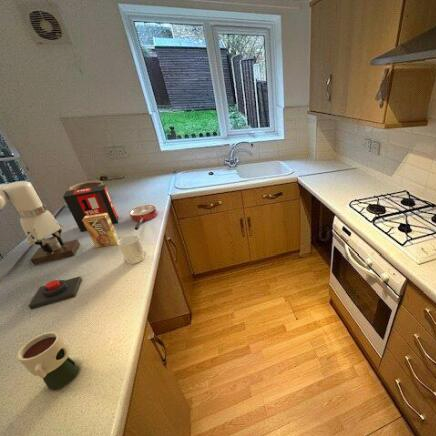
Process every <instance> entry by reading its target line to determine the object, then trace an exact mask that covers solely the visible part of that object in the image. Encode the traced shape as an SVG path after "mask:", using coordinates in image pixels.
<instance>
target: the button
mask: <svg viewBox="0 0 436 436" xmlns="http://www.w3.org/2000/svg"><path fill="white" fill-rule="evenodd" d="M58 280H59V279H54V280H51V281H48V282H47V283H46V284H45V285H44V286H45V287H46V288H47V290H48V291H51V290H54V289H56V288H58V287H59V286H61V284H60V282H59V281H58Z"/></svg>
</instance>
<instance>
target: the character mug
mask: <svg viewBox="0 0 436 436" xmlns="http://www.w3.org/2000/svg"><path fill="white" fill-rule="evenodd" d="M70 354H71V351H70V348H69V346H68V345H66V344H65V342H64V339H63V337H61V336H60V334H59V333H57V332H55V331H48V332H44V333H41V334H39V335H37V336H34V337H33V338H31V339H30V340H29V341H27V342H26V343H25V344H23V346H21V347H20V349H19V350H18V351H17V353H16V358H17V360H18V361H19V362H20V363H21V364H22V366H24V367H25V369H26V370H27V371H28V372H29V373H30V374H31V375H33V376H34V377H39V378H41V379H42V380H43V382H44V383H45V385H46V387H47V389H48V390H56V389H59V388H62V387H64V386H66V385H68V384H70V383H71V382H72V381H73V380H74V379H75V378H76V377H77V375H78V374H79V372H80V370H79V369H78V368H80V365H78V364H77V362H76V361H74V360H73V359H72V358H71V357H70ZM77 367H78V368H77Z"/></svg>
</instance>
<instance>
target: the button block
mask: <svg viewBox="0 0 436 436" xmlns="http://www.w3.org/2000/svg"><path fill="white" fill-rule="evenodd" d="M57 280H58V281H59V282H60V284H61V286H59V287H58V288H56V289H54V290H51V291H48V290H47V288H46V287H45V285H42V286H39V288H38V289H37V291H36V293H35V294H34V296H33V298H32V299H31V301H30V303H29V305H28V307H29V309H30V310H34V309H38V308H41V307H46V306H48V305H51V304H55V303H59V302H62V301H66V300H69V299H73V298H76V297H77V294H78V291H79V289H80V286H81V284H82V281H83V278H82V276H77V277H73V278H69V279H57Z"/></svg>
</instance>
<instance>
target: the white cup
mask: <svg viewBox="0 0 436 436" xmlns="http://www.w3.org/2000/svg"><path fill="white" fill-rule="evenodd" d="M116 245H117V246H118V249H119V250H120V252H121V254H122V255H123V257H124V259H125V261H126V263H128V265H129V264H130V265H133V264H138V263H141V262H142V261H143V260H144V259H145V253H144V248H143V245H142V241H141V239H140V236H139V235H138V234H130V235H125V236H123V237H121V238H119V240H118V242H117V244H116Z"/></svg>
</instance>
